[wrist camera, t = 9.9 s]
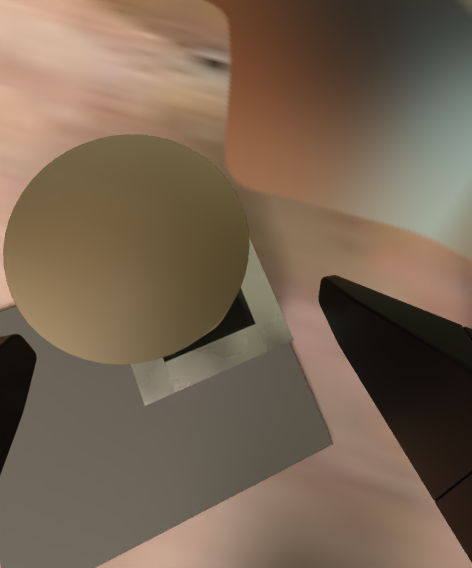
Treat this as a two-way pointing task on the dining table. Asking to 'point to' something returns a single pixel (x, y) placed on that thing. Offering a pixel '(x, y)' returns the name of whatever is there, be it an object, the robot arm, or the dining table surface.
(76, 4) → the dining table surface
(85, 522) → the mat
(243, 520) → the dining table surface
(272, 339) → the square socket block
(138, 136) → the pin
